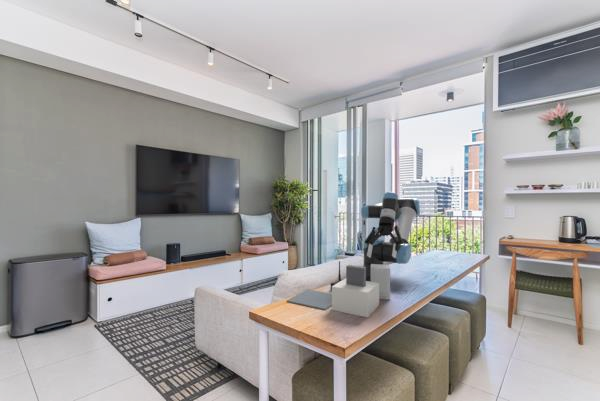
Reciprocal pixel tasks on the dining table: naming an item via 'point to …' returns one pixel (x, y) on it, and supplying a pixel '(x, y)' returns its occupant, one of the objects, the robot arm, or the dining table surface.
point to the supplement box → (381, 279)
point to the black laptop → (338, 278)
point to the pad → (313, 299)
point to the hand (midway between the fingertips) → (380, 256)
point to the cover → (355, 293)
